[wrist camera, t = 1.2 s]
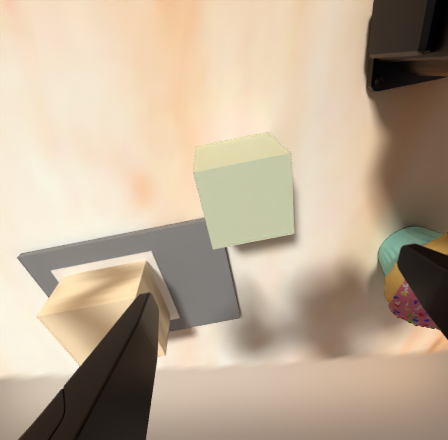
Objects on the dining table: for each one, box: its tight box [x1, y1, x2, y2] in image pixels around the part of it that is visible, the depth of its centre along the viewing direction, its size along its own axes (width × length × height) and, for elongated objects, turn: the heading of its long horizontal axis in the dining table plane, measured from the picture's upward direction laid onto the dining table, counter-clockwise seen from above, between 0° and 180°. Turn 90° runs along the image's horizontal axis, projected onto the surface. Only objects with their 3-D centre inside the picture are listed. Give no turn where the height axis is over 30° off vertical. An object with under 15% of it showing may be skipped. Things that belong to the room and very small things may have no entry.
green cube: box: [193, 132, 294, 249], centre depth 16 cm, size 5×5×5 cm
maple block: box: [37, 260, 171, 366], centre depth 21 cm, size 7×7×4 cm
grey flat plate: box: [17, 218, 240, 331], centre depth 23 cm, size 16×12×1 cm
